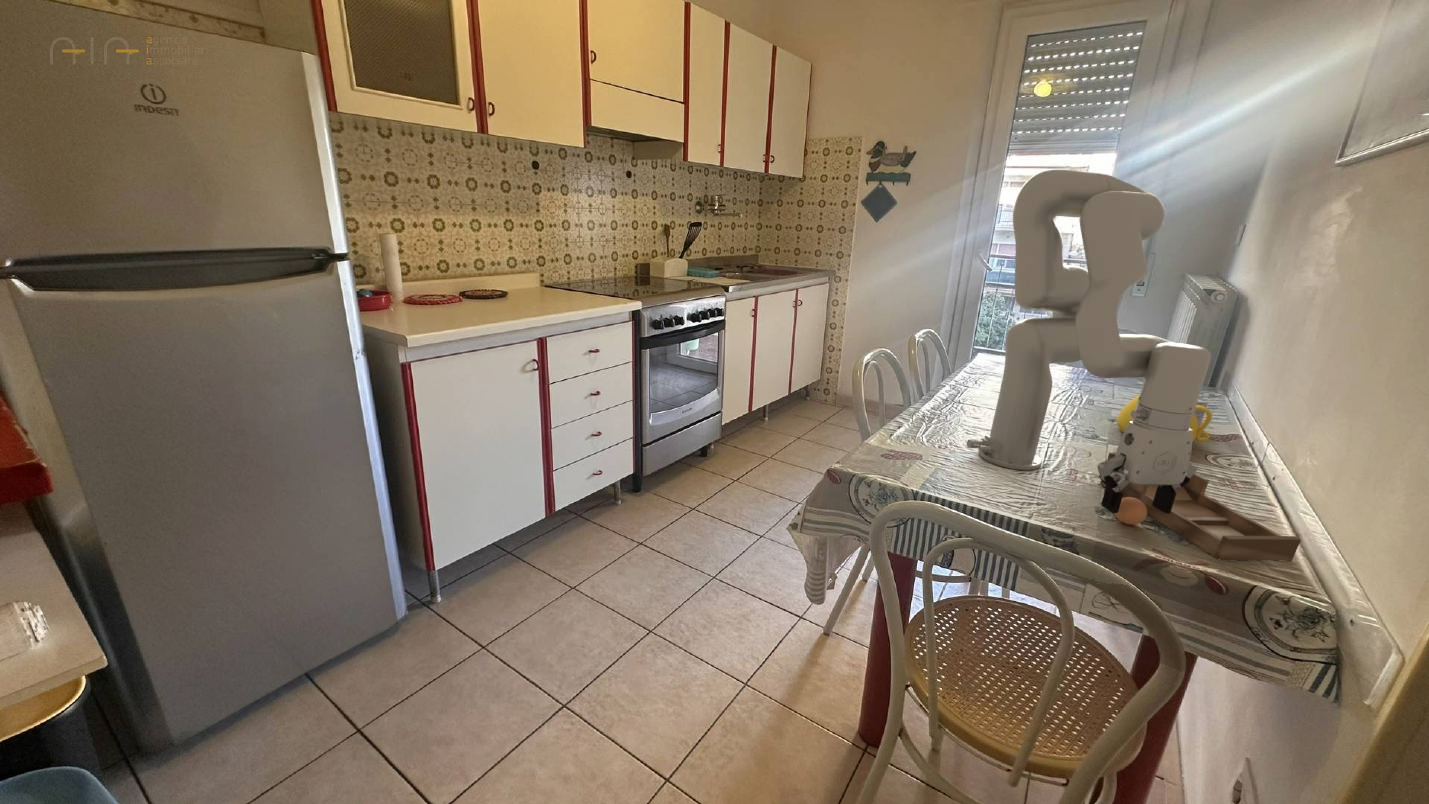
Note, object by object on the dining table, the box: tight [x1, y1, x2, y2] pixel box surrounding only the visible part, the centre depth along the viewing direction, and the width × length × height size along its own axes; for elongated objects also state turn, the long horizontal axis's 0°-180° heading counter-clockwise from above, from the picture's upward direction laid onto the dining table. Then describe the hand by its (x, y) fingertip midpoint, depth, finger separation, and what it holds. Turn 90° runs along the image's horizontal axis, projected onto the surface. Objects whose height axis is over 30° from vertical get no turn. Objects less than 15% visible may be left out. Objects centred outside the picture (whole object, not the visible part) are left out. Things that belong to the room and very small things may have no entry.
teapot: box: [1116, 394, 1213, 443], centre depth 140 cm, size 20×19×13 cm
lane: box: [1099, 452, 1302, 561], centre depth 102 cm, size 27×13×7 cm, turn 4°
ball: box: [1113, 497, 1148, 526], centre depth 99 cm, size 5×5×5 cm
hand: (1135, 509), depth 98 cm, fingers open, 9 cm apart
